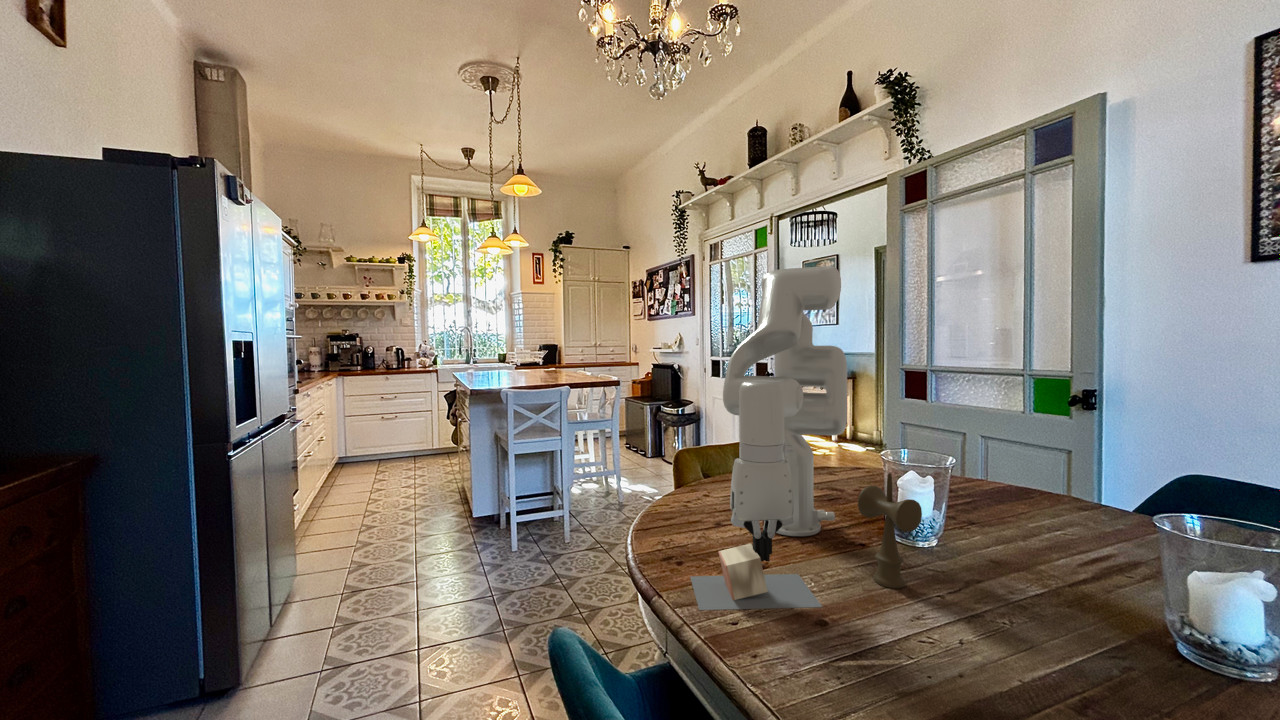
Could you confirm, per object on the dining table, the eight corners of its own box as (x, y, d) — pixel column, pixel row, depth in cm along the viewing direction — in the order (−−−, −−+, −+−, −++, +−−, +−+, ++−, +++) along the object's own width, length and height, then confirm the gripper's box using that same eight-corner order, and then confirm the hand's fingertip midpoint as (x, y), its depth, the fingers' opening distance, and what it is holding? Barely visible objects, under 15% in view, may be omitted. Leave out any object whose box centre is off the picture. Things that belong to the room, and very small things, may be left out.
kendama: (880, 570, 98) (881, 465, 97) (924, 593, 89) (925, 477, 88) (855, 575, 96) (855, 468, 95) (898, 599, 86) (898, 481, 86)
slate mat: (797, 576, 96) (797, 573, 96) (822, 609, 84) (822, 606, 84) (690, 578, 95) (690, 576, 95) (699, 612, 83) (699, 609, 83)
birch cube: (750, 543, 92) (718, 551, 92) (760, 557, 86) (725, 566, 86) (757, 575, 92) (725, 583, 92) (767, 591, 86) (732, 600, 86)
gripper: (796, 447, 93) (797, 548, 93) (714, 449, 92) (715, 551, 92) (813, 456, 85) (813, 566, 86) (723, 458, 84) (724, 569, 85)
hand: (762, 558), depth 89 cm, fingers closed
